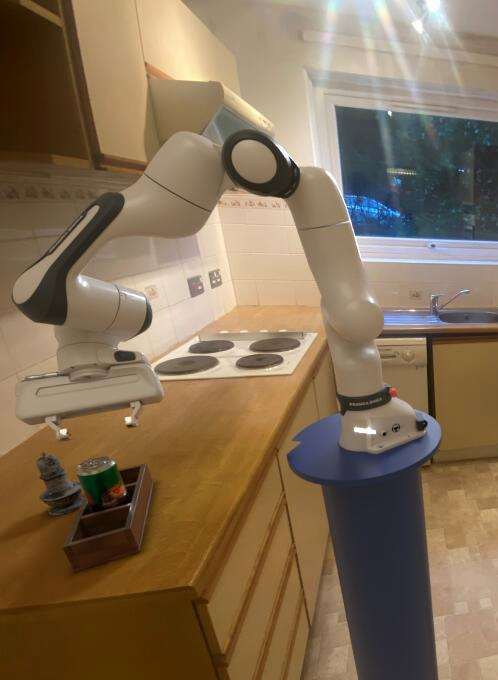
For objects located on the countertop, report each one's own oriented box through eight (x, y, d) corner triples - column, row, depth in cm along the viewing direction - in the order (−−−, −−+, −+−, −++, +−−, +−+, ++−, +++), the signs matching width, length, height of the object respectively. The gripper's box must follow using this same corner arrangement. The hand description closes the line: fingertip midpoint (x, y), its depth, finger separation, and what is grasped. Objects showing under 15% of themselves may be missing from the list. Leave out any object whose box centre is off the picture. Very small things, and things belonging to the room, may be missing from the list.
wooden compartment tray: (153, 483, 90) (146, 462, 88) (140, 552, 72) (130, 528, 70) (102, 496, 86) (93, 475, 84) (74, 572, 68) (62, 547, 66)
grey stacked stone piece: (80, 493, 87) (56, 441, 82) (95, 501, 84) (71, 448, 80) (40, 510, 82) (13, 455, 77) (55, 520, 79) (27, 464, 75)
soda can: (115, 529, 76) (90, 472, 71) (91, 526, 77) (65, 469, 72) (143, 511, 81) (121, 456, 76) (120, 508, 81) (97, 453, 77)
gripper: (4, 370, 75) (8, 443, 71) (152, 350, 85) (163, 413, 82) (23, 385, 80) (28, 454, 76) (160, 365, 91) (171, 425, 87)
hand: (99, 433), depth 79 cm, fingers open, 8 cm apart
